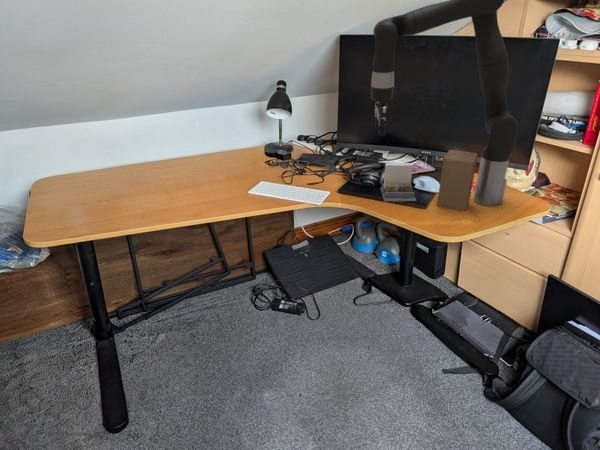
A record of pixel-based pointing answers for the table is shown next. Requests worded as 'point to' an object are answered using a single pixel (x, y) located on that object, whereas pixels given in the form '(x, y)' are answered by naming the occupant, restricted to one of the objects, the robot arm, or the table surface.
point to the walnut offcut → (405, 188)
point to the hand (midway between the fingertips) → (380, 131)
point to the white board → (398, 174)
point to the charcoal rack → (397, 195)
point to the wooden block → (457, 180)
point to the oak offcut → (392, 188)
